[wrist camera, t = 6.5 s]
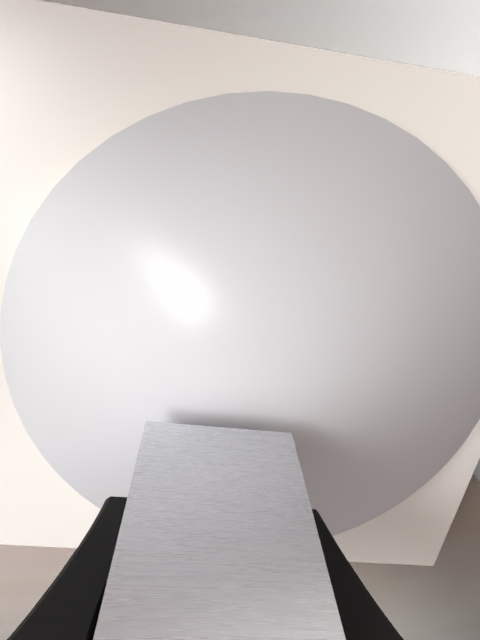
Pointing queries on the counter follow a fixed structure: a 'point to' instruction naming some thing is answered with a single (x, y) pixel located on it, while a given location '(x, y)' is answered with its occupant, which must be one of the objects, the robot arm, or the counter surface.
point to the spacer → (217, 543)
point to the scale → (235, 269)
